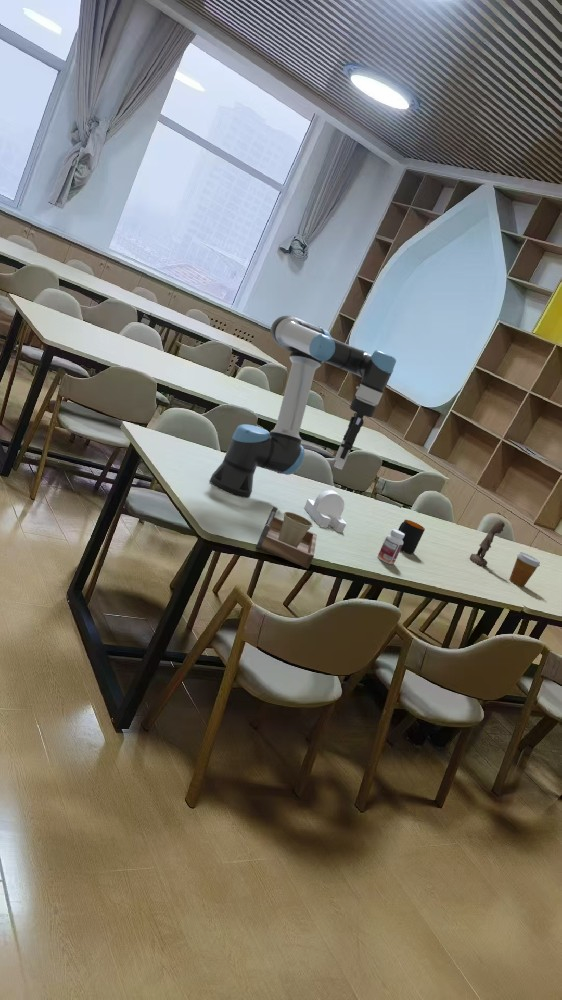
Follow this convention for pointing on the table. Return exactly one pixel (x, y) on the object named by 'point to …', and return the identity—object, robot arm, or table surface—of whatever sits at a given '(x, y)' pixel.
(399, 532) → the pill bottle
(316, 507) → the bracket
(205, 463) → the table surface
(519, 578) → the disposable coffee cup
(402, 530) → the mug
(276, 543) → the wooden tray
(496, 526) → the figurine
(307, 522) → the flower pot
